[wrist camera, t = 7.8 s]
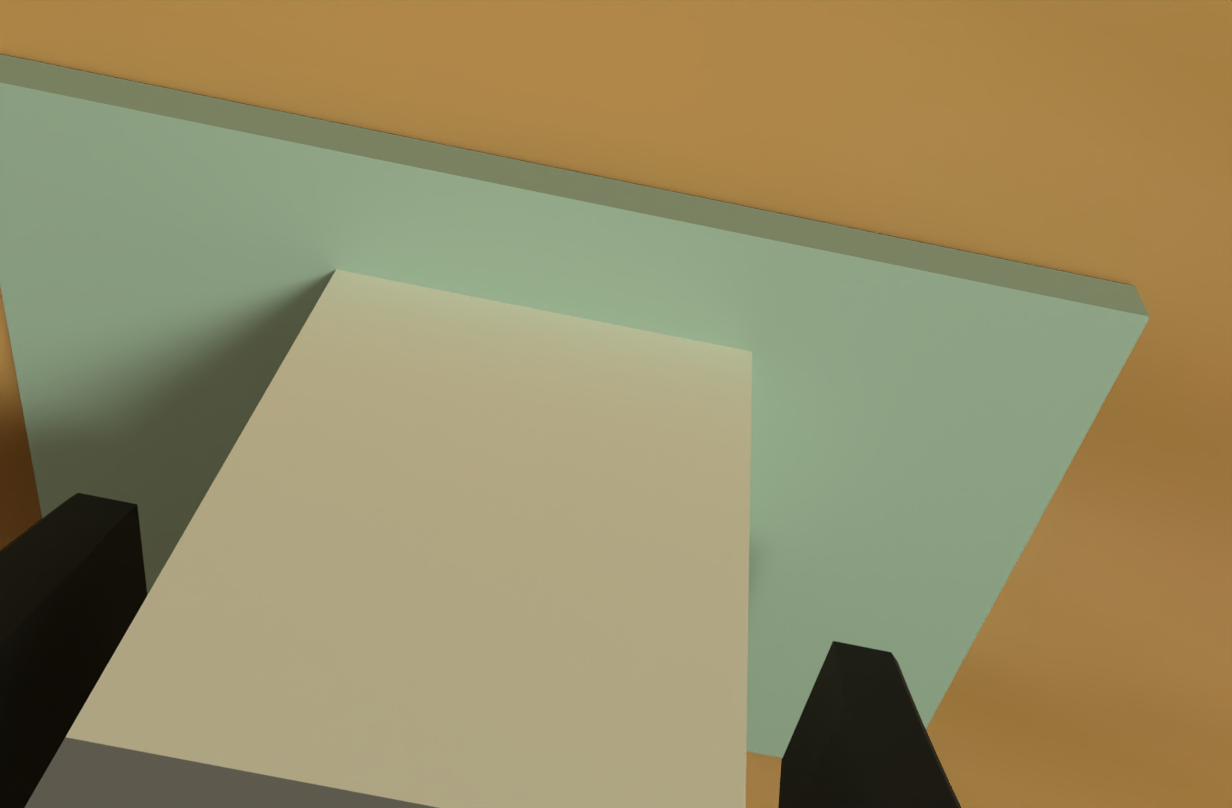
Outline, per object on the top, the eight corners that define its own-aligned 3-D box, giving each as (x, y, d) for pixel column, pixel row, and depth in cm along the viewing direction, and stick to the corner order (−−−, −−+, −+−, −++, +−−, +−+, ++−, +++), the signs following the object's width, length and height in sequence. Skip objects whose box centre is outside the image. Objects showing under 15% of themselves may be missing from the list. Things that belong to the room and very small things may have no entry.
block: (751, 351, 12) (741, 1022, 7) (650, 702, 16) (588, 1325, 10) (335, 269, 12) (-17, 879, 7) (328, 640, 16) (93, 1236, 10)
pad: (1133, 286, 12) (1150, 316, 12) (893, 744, 17) (897, 780, 17) (-6, 52, 12) (-38, 74, 11) (80, 587, 17) (60, 618, 16)
